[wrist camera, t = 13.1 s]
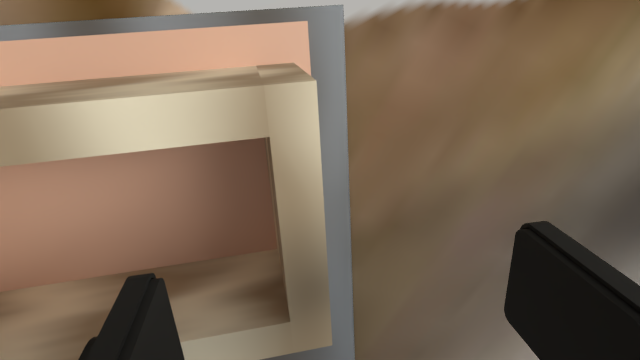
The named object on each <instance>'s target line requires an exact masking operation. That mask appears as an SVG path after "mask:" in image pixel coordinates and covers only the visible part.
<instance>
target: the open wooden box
mask: <svg viewBox="0 0 640 360" xmlns="http://www.w3.org/2000/svg"><path fill="white" fill-rule="evenodd" d="M256 138H264V139H265V147H266V156H267V164H268V173H269V181H270V190H271V198H272V207H273V215H274V224H275V232H276V241H277V249H273V250H267V251H261V252H254V253H248V254H241V255H235V256H228V257H222V258H215V259H209V260H202V261H196V262H190V263H183V264H177V265H170V266H164V267H157V268H151V269H144V270H138V271H131V272H125V273H119V274H112V275H106V276H99V277H93V278H86V279H80V280H73V281H67V282H60V283H54V284H48V285H41V286H35V287H28V288H22V289H15V290H9V291H2V292H0V360H78V359H79V357H80V355H81V353H82V351H83V349H84V348H85V346H86V344H87V343H88V341H89V340H90V339H91V338H93V337H97V336H98V334H99V332H100V330H101V328H102V326H103V324H104V322H105V320H106V318H107V316H108V314H109V312H110V310H111V308H112V306H113V304H114V302H115V300H116V298H117V296H118V294H119V292H120V290H121V288H122V286H123V285H124V283H125V281H126V279H127V277H129V276H133V275H141V274H148V273H154V274H155V276H156V278H163V279H164V282H165V285H166V289H167V293H168V297H169V301H170V304H171V308H172V312H173V316H174V320H175V324H176V328H177V332H178V335H179V339H180V343H181V347H182V351H183V355H184V359H185V360H260V359H266V358H271V357H276V356H281V355H286V354H291V353H296V352H301V351H306V350H311V349H316V348H321V347H326V346H331V345H332V330H331V313H330V297H329V280H328V263H327V247H326V230H325V213H324V197H323V180H322V164H321V147H320V130H319V114H318V97H317V81H316V80H315V79H314V78H313V77H311V76H310V75H309V74H307V73H306V72H305V71H304V70H302V69H301V68H300V67H299V66H297V65H296V64H295V63H282V64H270V65H258V66H245V67H233V68H221V69H209V70H197V71H184V72H172V73H160V74H148V75H136V76H123V77H111V78H99V79H87V80H75V81H62V82H50V83H38V84H26V85H14V86H1V87H0V167H2V166H11V165H20V164H29V163H38V162H47V161H56V160H65V159H75V158H84V157H93V156H102V155H111V154H120V153H129V152H138V151H147V150H156V149H165V148H174V147H183V146H192V145H201V144H210V143H219V142H228V141H238V140H247V139H256Z"/></svg>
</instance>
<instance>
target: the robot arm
mask: <svg viewBox="0 0 640 360" xmlns="http://www.w3.org/2000/svg"><path fill="white" fill-rule="evenodd" d="M504 312H505V316H506V318H507V320H508V322H509V323H510V324H511V325H512V327H513V328H514V329H515V330H516V331H517V333H518V334H519V335H520V336H521V337H522V339H523V340H524V341H525V342H526V343H527V345H528V346H529V347H530V348H531V349H532V351H533V352H534V353H535V354H536V356H537V357H538V358H539V359H540V360H640V286H639V285H638V284H636V283H635V282H633V281H632V280H631V279H629V278H628V277H626V276H625V275H623V274H622V273H621V272H619V271H618V270H616V269H615V268H613V267H612V266H611V265H609V264H608V263H606V262H605V261H603V260H602V259H601V258H599V257H598V256H596V255H595V254H593V253H592V252H591V251H589V250H588V249H586V248H585V247H583V246H582V245H581V244H579V243H578V242H576V241H575V240H573V239H572V238H571V237H569V236H568V235H566V234H565V233H563V232H562V231H561V230H559V229H558V228H556V227H555V226H553V225H552V224H551V223H549V222H547V221H541V222H533V223H526V224H524V225H522V227H521V228H520V230H518V231H517V232H516V235H515V241H514V247H513V254H512V260H511V267H510V273H509V280H508V286H507V293H506V299H505V306H504ZM78 360H185V359H184V355H183V351H182V347H181V343H180V339H179V335H178V332H177V328H176V324H175V320H174V316H173V312H172V308H171V304H170V301H169V297H168V293H167V289H166V285H165V282H164V279H163V278H156V276H155V274H154V273H148V274H141V275H133V276H129V277H127V279H126V281H125V283H124V285H123V286H122V288H121V290H120V292H119V294H118V296H117V298H116V300H115V302H114V304H113V306H112V308H111V310H110V312H109V314H108V316H107V318H106V320H105V322H104V324H103V326H102V328H101V330H100V332H99V334H98V336H97V337H93V338H91V339H90V340H89V341H88V343H87V344H86V346H85V348H84V349H83V351H82V353H81V355H80V357H79V359H78Z"/></svg>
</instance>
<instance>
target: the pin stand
mask: <svg viewBox="0 0 640 360" xmlns="http://www.w3.org/2000/svg"><path fill="white" fill-rule="evenodd" d="M282 63H295V64H296V65H297V66H299V67H300V68H301V69H302V70H304V71H305V72H306V73H307V74H309V75H310V76H311V77H313V78H314V79H315V80H316V81H317V97H318V114H319V130H320V147H321V164H322V180H323V197H324V213H325V230H326V247H327V263H328V280H329V297H330V313H331V330H332V345H331V346H326V347H321V348H316V349H311V350H306V351H301V352H296V353H291V354H286V355H281V356H276V357H271V358H266V359H260V360H355V350H354V319H353V288H352V257H351V226H350V196H349V165H348V134H347V103H346V72H345V41H344V11H343V5H332V6H314V7H298V8H283V9H265V10H250V11H234V12H233V11H232V12H216V13H200V14H183V15H167V16H150V17H134V18H118V19H101V20H85V21H68V22H52V23H36V24H19V25H3V26H0V87H1V86H14V85H26V84H38V83H50V82H62V81H75V80H87V79H99V78H111V77H123V76H136V75H148V74H160V73H172V72H184V71H197V70H209V69H221V68H233V67H245V66H258V65H270V64H282ZM273 249H277V241H276V232H275V224H274V215H273V207H272V198H271V190H270V181H269V173H268V164H267V156H266V147H265V139H264V138H256V139H247V140H238V141H228V142H219V143H210V144H201V145H192V146H183V147H174V148H165V149H156V150H147V151H138V152H129V153H120V154H111V155H102V156H93V157H84V158H75V159H65V160H56V161H47V162H38V163H29V164H20V165H11V166H2V167H0V292H2V291H9V290H15V289H22V288H28V287H35V286H41V285H48V284H54V283H60V282H67V281H73V280H80V279H86V278H93V277H99V276H106V275H112V274H119V273H125V272H131V271H138V270H144V269H151V268H157V267H164V266H170V265H177V264H183V263H190V262H196V261H202V260H209V259H215V258H222V257H228V256H235V255H241V254H248V253H254V252H261V251H267V250H273Z"/></svg>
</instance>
